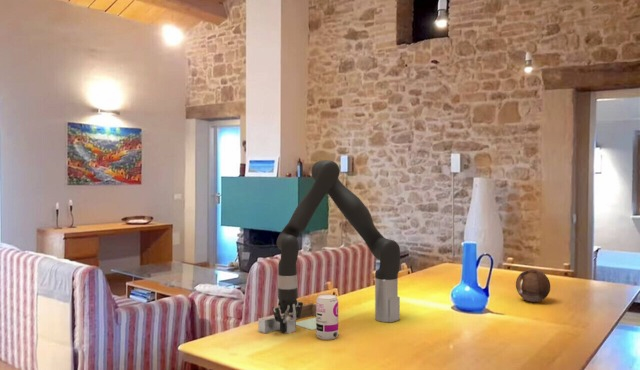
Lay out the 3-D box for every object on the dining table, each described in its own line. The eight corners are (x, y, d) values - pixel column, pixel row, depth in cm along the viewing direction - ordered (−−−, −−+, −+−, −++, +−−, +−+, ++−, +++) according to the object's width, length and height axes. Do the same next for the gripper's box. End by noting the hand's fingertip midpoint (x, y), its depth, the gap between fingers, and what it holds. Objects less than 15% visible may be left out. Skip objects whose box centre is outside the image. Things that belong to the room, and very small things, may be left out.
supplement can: (341, 334, 200) (340, 294, 200) (334, 341, 192) (334, 299, 192) (320, 332, 203) (320, 293, 202) (313, 339, 195) (313, 298, 194)
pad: (334, 324, 214) (334, 323, 214) (312, 330, 206) (312, 329, 206) (313, 318, 223) (313, 317, 223) (291, 324, 214) (291, 323, 214)
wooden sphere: (544, 298, 257) (544, 267, 257) (554, 305, 242) (555, 272, 242) (512, 297, 259) (512, 266, 258) (520, 305, 244) (520, 272, 243)
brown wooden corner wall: (334, 320, 219) (334, 308, 219) (299, 330, 206) (299, 317, 206) (312, 314, 229) (311, 302, 229) (277, 323, 216) (277, 310, 216)
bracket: (295, 331, 204) (295, 318, 204) (274, 337, 198) (274, 323, 197) (278, 326, 212) (278, 313, 212) (258, 331, 205) (258, 318, 205)
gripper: (279, 290, 197) (279, 337, 197) (308, 285, 206) (308, 329, 207) (266, 287, 202) (267, 332, 202) (295, 282, 212) (295, 325, 212)
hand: (288, 330), depth 205 cm, fingers closed on bracket, 4 cm apart
